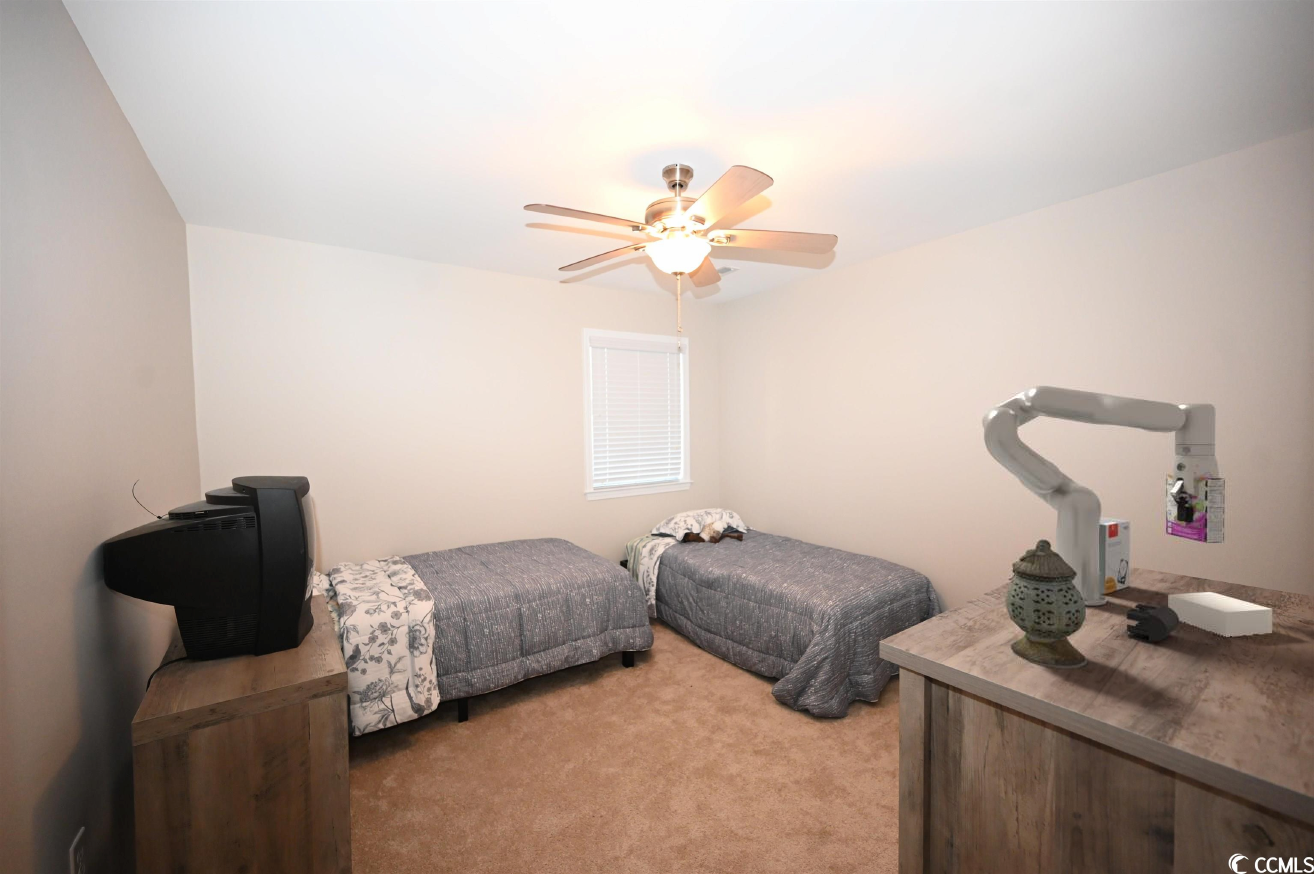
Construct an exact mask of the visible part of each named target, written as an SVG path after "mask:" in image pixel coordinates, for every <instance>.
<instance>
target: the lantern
mask: <svg viewBox="0 0 1314 874" xmlns="http://www.w3.org/2000/svg"><path fill="white" fill-rule="evenodd" d="M1011 565H1012V566H1011V567H1012V573H1013V575H1012V577H1011V578H1008V581H1010V583H1009V585H1008V587H1007V589H1006V591H1005V606H1006V611H1007V612H1008V615H1009V618H1010V620H1011V621H1012V622H1013V623H1014V624H1015V625H1016V626H1017V627H1018V628H1019V629H1021V631H1022V632H1024V633H1025V634H1024V635H1022V636H1021V638H1020V639H1018V640H1016V641H1014V642H1012V643H1011V644H1010V650H1012V651H1013V652H1014V653H1015V654H1016V655H1017V656H1016V655H1015V654H1014V653H1013V652H1012V651H1011V652H1012V653H1013V654H1014V655H1015V656H1016V657H1018V656H1019V657H1018V658H1020V657H1021V658H1023V659H1022V660H1024V659H1025V660H1024V661H1026V660H1027V661H1026V662H1029V663H1032V664H1035V663H1036V664H1035V665H1038V664H1039V665H1038V666H1042V665H1043V667H1047V666H1049V667H1048V668H1053V667H1054V669H1061V670H1064V669H1065V670H1070V669H1080V668H1084V667H1085V666H1086V665H1087V663H1088V661H1087V657H1086V655H1084V654H1083V653H1082V652H1080V651H1079V650H1078V649H1077V648H1076V647H1075V646H1074V645H1073V644H1072V643H1071V642H1070V641H1069V639H1068V637H1070V636H1072V635H1073V634H1075V633H1076V632H1078V631H1079V630H1080V629H1081V628H1082V626H1083V623H1084V621H1085V620H1086V618H1087V617H1086V616H1087V615H1086V613H1087V612H1086V610H1087V607H1086V606H1087V605H1085V603H1084V600H1083V598H1082V596H1081V593H1080V592H1079V591H1078V589H1077V588H1076V587H1075V585H1074V584H1073V583H1072V581H1073V580H1074V578H1075V576H1076V575H1077V573H1076V571H1074V569H1073V568H1072V567H1071V566H1070V565H1068V564H1067V563H1066V562H1065V561H1064V560H1063V559H1062V557H1061V556H1060V555H1059V554H1058V553H1056V551H1054V550H1053V549H1052V544H1051V543H1050V541H1049V540H1047V539H1040V540H1038V541H1037V542H1036V545H1035V548H1034V549H1033V548H1032V549H1030V548H1029V549H1027V550H1026V551H1025V554H1024V555H1022V556H1020V557H1019V558H1018V560H1017V561H1015V562H1013V563H1012V564H1011ZM1021 658H1020V659H1021Z"/></svg>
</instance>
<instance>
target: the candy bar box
mask: <svg viewBox="0 0 1314 874" xmlns="http://www.w3.org/2000/svg"><path fill="white" fill-rule="evenodd" d="M1172 478H1173V473H1166V479H1165V482H1166V484H1165V486H1166V493H1165V494H1166V495H1165V497H1166V498H1165V500H1166V502H1165V503H1166V505H1165V506H1166V507H1165V509H1166V511H1165V512H1166V515H1165V516H1166V519H1165V523H1166V524H1165V528H1166V529H1165V534H1166V535H1170V536H1175V537H1179V538H1183V539H1187V540H1191V541H1198V542H1201V543H1205V544H1213V543H1214V544H1219V543H1225V493H1226V491H1225V487H1226V486H1225V484H1226V480H1225V479H1226V478H1224V477H1219V478H1218V477H1202V478H1198V496H1193V500H1192V504H1191V506H1190V507H1193V522H1191V523H1189V522H1182V521H1178V520H1177V506H1176V504H1175V503H1176V502H1175V500H1174V498H1173V497H1172V496H1171V495H1170V492H1171V490H1172V489H1173V487H1172ZM1183 494H1188V493H1187V492H1183ZM1184 498H1185V499H1186V500H1187V497H1184Z"/></svg>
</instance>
